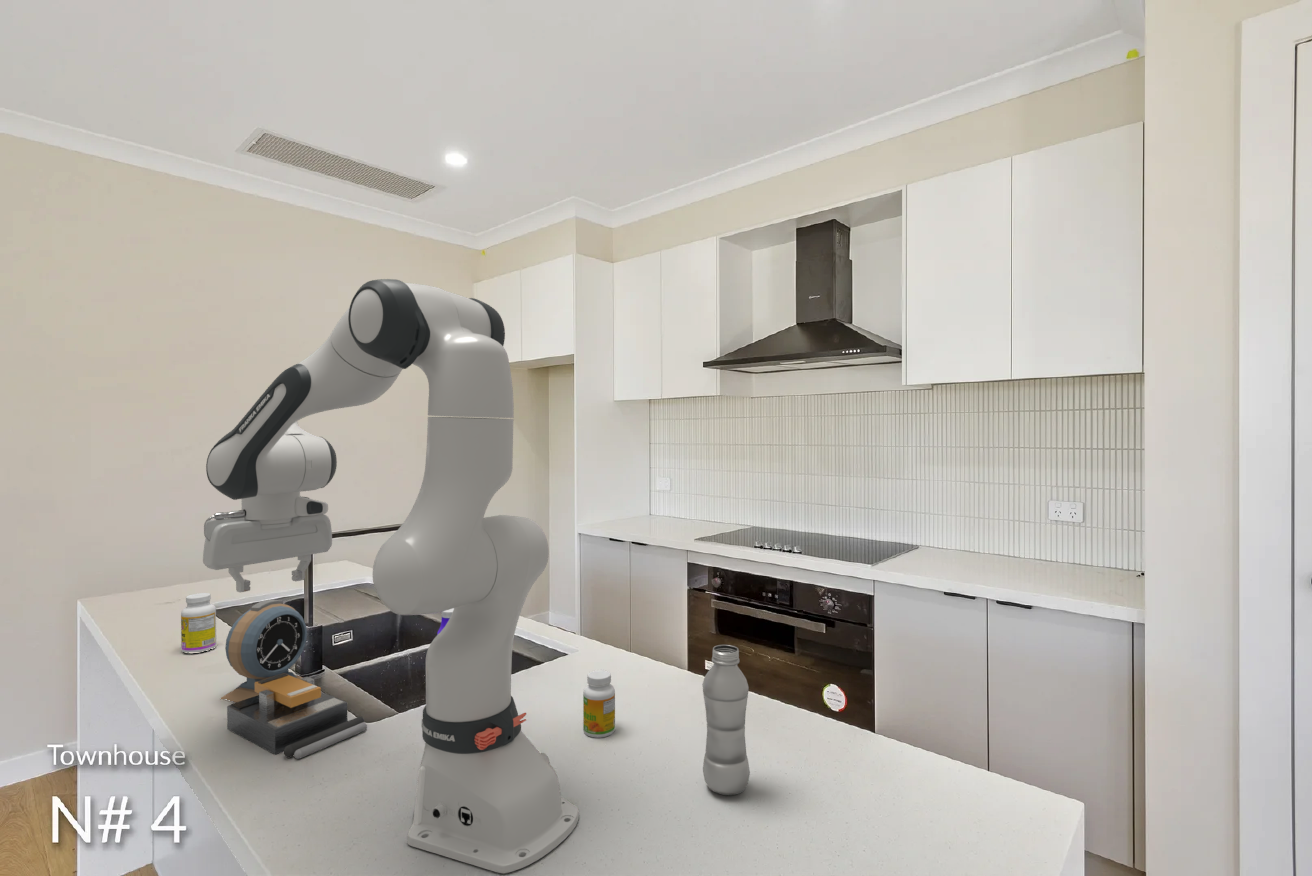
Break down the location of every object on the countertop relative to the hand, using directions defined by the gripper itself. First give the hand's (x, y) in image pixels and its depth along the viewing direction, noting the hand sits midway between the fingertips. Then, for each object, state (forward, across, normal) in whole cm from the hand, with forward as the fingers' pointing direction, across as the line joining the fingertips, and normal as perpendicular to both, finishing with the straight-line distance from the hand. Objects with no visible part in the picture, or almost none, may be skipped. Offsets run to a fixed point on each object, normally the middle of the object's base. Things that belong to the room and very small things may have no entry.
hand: (271, 585), depth 112 cm
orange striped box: (+17, 0, -5) cm, 18 cm away
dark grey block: (+24, 0, -5) cm, 24 cm away
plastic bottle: (+23, +24, -77) cm, 84 cm away
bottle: (+24, +23, -20) cm, 39 cm away
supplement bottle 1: (+25, +9, +52) cm, 58 cm away
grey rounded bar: (+24, +1, -16) cm, 28 cm away
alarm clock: (+24, +6, +14) cm, 29 cm away
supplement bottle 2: (+24, +28, -51) cm, 63 cm away
